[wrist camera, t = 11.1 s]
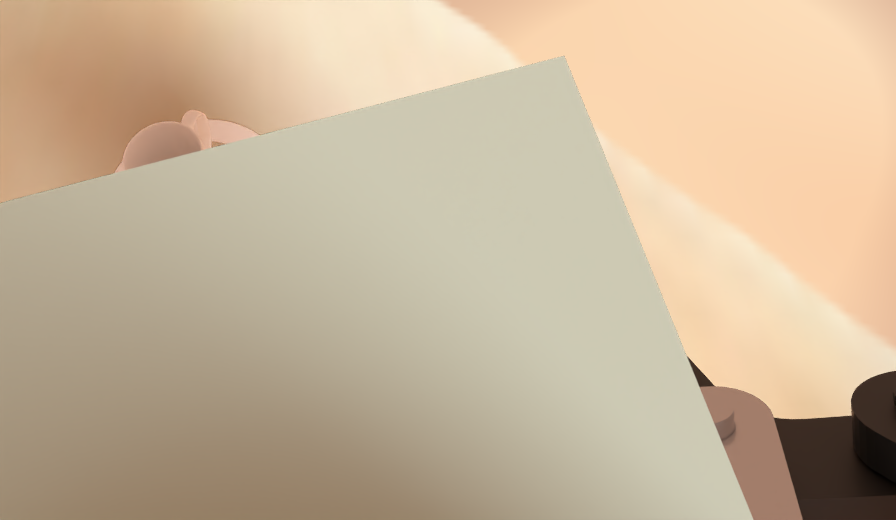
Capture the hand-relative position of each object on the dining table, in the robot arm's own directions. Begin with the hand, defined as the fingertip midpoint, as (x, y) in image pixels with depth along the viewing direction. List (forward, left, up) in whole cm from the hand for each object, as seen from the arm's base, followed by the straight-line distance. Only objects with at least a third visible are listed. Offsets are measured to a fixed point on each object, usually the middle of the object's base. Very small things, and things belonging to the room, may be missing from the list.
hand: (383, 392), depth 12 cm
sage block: (0, -2, -5) cm, 5 cm away
